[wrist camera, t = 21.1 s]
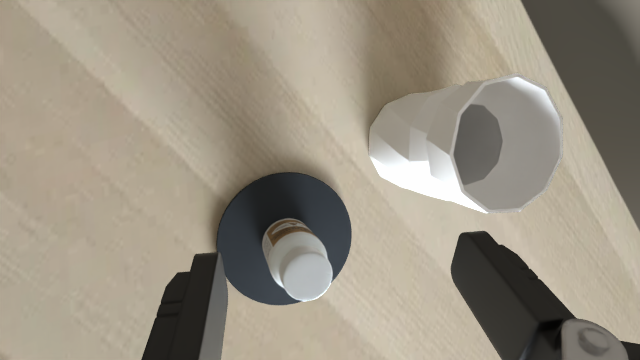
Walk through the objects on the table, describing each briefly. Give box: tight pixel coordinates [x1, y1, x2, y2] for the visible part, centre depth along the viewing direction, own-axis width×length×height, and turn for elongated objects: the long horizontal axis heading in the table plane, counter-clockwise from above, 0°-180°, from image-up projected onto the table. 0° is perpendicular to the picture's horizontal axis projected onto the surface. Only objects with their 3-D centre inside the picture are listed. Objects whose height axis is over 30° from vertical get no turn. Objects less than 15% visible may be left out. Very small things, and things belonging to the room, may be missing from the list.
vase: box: [369, 73, 563, 213], centre depth 26 cm, size 9×9×12 cm
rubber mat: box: [217, 172, 351, 305], centre depth 30 cm, size 12×12×1 cm
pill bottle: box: [262, 218, 333, 301], centre depth 26 cm, size 4×4×8 cm
